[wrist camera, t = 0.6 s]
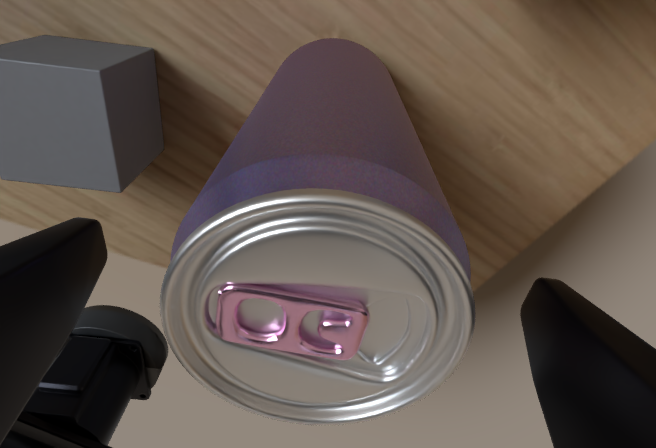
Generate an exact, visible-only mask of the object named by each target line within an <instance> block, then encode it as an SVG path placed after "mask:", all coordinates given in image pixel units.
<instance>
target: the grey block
mask: <svg viewBox="0 0 656 448" xmlns="http://www.w3.org/2000/svg"><path fill="white" fill-rule="evenodd" d="M163 150H164V142H163V132H162V123H161V113H160V104H159V94H158V85H157V75H156V66H155V56H154V49H153V48H147V47H139V46H131V45H123V44H115V43H107V42H99V41H91V40H82V39H74V38H66V37H58V36H50V35H42V36H38V37H33V38H28V39H24V40H19V41H15V42H10V43H6V44H1V45H0V176H1V179H2V180H10V181H19V182H28V183H37V184H46V185H55V186H64V187H73V188H82V189H91V190H100V191H109V192H118V193H121V192H122V191H123V190H124V189H125V188H126V187H127V186H128V185H129V184H130V183H131V182H132V181H133V180H134V179H135V178H136V177H137V176H138V175H139V174H140V173H141V172H142V171H143V170H144V169H145V168H146V167H147V166H148V165H149V164H150V163H151V162H152V161H153V160H154V159H155V158H156V157H157V156H158V155H159V154H160V153H161V152H162V151H163Z"/></svg>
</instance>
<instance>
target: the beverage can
mask: <svg viewBox="0 0 656 448" xmlns="http://www.w3.org/2000/svg"><path fill="white" fill-rule="evenodd" d="M470 276H471V272H470V261H469V255H468V251H467V247H466V244H465V241H464V239H463V236H462V234H461V232H460V229H459V227H458V225H457V223H456V221H455V218H454V216H453V214H452V212H451V209H450V207H449V205H448V203H447V201H446V198H445V196H444V194H443V192H442V189H441V187H440V185H439V183H438V180H437V178H436V176H435V174H434V172H433V169H432V167H431V165H430V163H429V160H428V158H427V156H426V154H425V152H424V149H423V147H422V145H421V143H420V140H419V138H418V136H417V134H416V131H415V129H414V127H413V125H412V123H411V120H410V118H409V116H408V114H407V111H406V109H405V107H404V105H403V103H402V100H401V98H400V96H399V94H398V91H397V89H396V87H395V85H394V83H393V80H392V78H391V76H390V74H389V72H388V70H387V68H386V67H385V65H384V64H383V63H382V61H381V60H380V59H379V58H378V57H377V56H376V55H375V54H374V53H372V52H371V51H370V50H368V49H367V48H365V47H364V46H362V45H360V44H358V43H355V42H352V41H349V40H344V39H337V38H330V39H321V40H317V41H313V42H310V43H308V44H306V45H304V46H302V47H300V48H299V49H297V50H296V51H294V52H293V53H292V54H291V55H290V56H289V57H288V58H287V59H286V60H285V61H284V62H283V63H282V65H281V66H280V68H279V69H278V71H277V72H276V74H275V76H274V77H273V79H272V80H271V82H270V83H269V85H268V87H267V88H266V90H265V91H264V93H263V94H262V96H261V98H260V99H259V101H258V102H257V104H256V105H255V107H254V109H253V110H252V112H251V113H250V115H249V116H248V118H247V120H246V121H245V123H244V124H243V126H242V127H241V129H240V131H239V132H238V134H237V135H236V137H235V138H234V140H233V142H232V143H231V145H230V146H229V148H228V149H227V151H226V153H225V154H224V156H223V157H222V159H221V160H220V162H219V164H218V165H217V167H216V168H215V170H214V171H213V173H212V175H211V176H210V178H209V179H208V181H207V182H206V184H205V186H204V187H203V189H202V190H201V192H200V194H199V195H198V197H197V198H196V200H195V201H194V203H193V205H192V206H191V208H190V209H189V211H188V212H187V214H186V216H185V217H184V219H183V221H182V222H181V224H180V226H179V228H178V231H177V233H176V236H175V239H174V243H173V246H172V252H171V262H170V264H169V266H168V269H167V271H166V274H165V277H164V280H163V284H162V289H161V295H160V315H161V321H162V326H163V329H164V333H165V336H166V338H167V341H168V343H169V345H170V347H171V349H172V351H173V353H174V354H175V356H176V357H177V359H178V360H179V362H180V363H181V364H182V366H183V367H184V368H185V369H186V370H187V371H188V372H189V374H191V376H192V377H194V378H195V379H196V380H197V381H198V382H199V383H200V384H201V385H203V386H204V387H205V388H207V389H208V390H209V391H211V392H212V393H214V394H215V395H217V396H218V397H220V398H222V399H223V400H225V401H227V402H229V403H231V404H233V405H235V406H237V407H239V408H241V409H244V410H246V411H249V412H251V413H254V414H257V415H260V416H263V417H267V418H271V419H274V420H279V421H283V422H289V423H296V424H305V425H344V424H353V423H359V422H365V421H370V420H374V419H378V418H381V417H385V416H388V415H391V414H393V413H396V412H399V411H401V410H403V409H406V408H408V407H410V406H412V405H414V404H416V403H417V402H419V401H421V400H423V399H424V398H426V397H427V396H429V395H430V394H431V393H433V392H434V391H435V390H437V389H438V388H439V387H440V386H441V385H442V384H443V383H444V382H446V381H447V380H448V379H449V377H450V376H451V375H452V374H453V373H454V371H455V370H456V369H457V368H458V366H459V365H460V363H461V362H462V360H463V358H464V356H465V354H466V353H467V350H468V348H469V345H470V343H471V339H472V336H473V331H474V325H475V302H474V296H473V292H472V288H471V285H470Z"/></svg>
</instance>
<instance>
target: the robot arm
mask: <svg viewBox="0 0 656 448" xmlns="http://www.w3.org/2000/svg"><path fill="white" fill-rule="evenodd" d="M106 261H107V248H106V244H105V239H104V235H103V231H102V227H101V224H100V223H99V222H98V221H97V220H95V219H88V218H79V217H78V218H73V219H70V220H68V221H65V222H63V223H60V224H57V225H55V226H52V227H49V228H47V229H44V230H42V231H39V232H36V233H34V234H31V235H29V236H26V237H23V238H21V239H18V240H15V241H13V242H10V243H8V244H5V245H2V246H0V448H112V447H109V446H107V445H108V443H109V441H110V439H111V437H112V435H113V433H114V431H115V428H116V427H117V425H118V423H119V421H120V419H121V416H122V415H123V413H124V411H125V409H126V407H127V405H128V403H129V401H130V399H138V400H147V399H149V397H150V395H151V389H150V383H149V378H148V372H147V367H146V362H145V356H144V351H143V345H142V343H141V342H140V341H138V340H133V339H123V338H113V337H103V336H93V335H83V334H73V333H71V332H72V330H73V329H74V327H75V325H76V323H77V321H78V319H79V318H80V316H81V314H82V311H83V309H84V307H85V305H86V303H87V301H88V299H89V297H90V295H91V293H92V291H93V289H94V287H95V285H96V282H97V280H98V278H99V276H100V274H101V272H102V270H103V268H104V266H105V263H106ZM521 321H522V326H523V331H524V336H525V341H526V346H527V351H528V357H529V362H530V367H531V371H532V376H533V381H534V385H535V388H536V391H537V395H538V398H539V402H540V405H541V408H542V411H543V414H544V417H545V421H546V424H547V427H548V430H549V433H550V436H551V440H552V443H553V446H554V448H656V349H655V348H653V347H652V346H651V345H649V344H648V343H647V342H645V341H644V340H642V339H641V338H639V337H638V336H636V335H635V334H634V333H633V332H631V331H630V330H628V329H627V328H626V327H624V326H623V325H622V324H620V323H619V322H617V321H616V320H615V319H613V318H612V317H610V316H609V315H608V314H606V313H605V312H604V311H602V310H601V309H599V308H598V307H596V306H595V305H594V304H592V303H591V302H590V301H588V300H587V299H585V298H584V297H583V296H581V295H580V294H579V293H577V292H576V291H574V290H573V289H572V288H570V287H569V286H568V285H566V284H565V283H563V282H562V281H560V280H557V279H549V278H538V279H537V280H536V281H535V282H534V283H533V285H532V288H531V290H530V291H529V293H528V295H527V297H526V299H525V300H524V302H523V304H522V307H521ZM54 359H55V360H54ZM52 362H53V363H52Z"/></svg>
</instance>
